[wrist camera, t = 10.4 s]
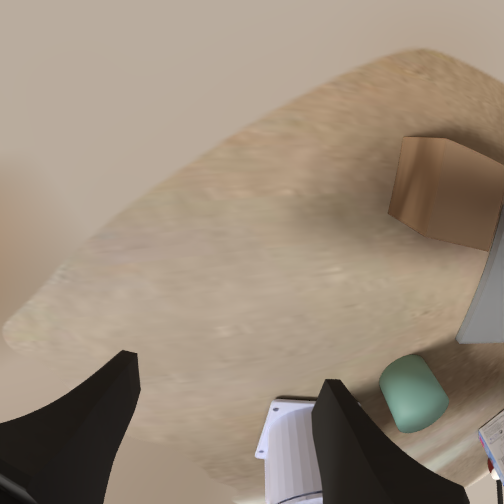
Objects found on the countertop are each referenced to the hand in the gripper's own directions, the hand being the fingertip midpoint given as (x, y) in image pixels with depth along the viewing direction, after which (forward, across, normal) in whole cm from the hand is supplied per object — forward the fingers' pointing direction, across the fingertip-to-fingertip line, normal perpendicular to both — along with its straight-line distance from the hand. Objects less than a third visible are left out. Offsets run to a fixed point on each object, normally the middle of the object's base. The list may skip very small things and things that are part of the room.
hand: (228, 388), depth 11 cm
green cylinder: (+9, -15, +7) cm, 19 cm away
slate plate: (+9, -24, -3) cm, 26 cm away
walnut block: (+10, -11, -8) cm, 17 cm away
